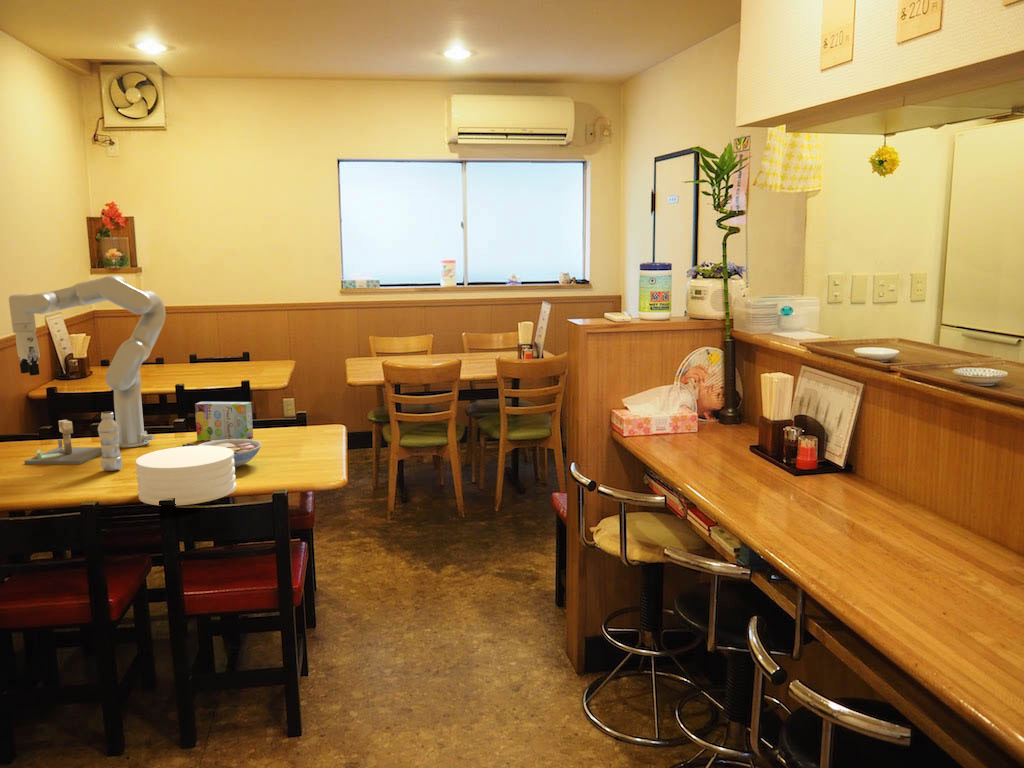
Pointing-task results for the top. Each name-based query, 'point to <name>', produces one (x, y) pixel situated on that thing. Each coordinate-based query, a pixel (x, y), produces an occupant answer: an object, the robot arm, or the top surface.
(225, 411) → the snack box
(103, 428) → the plastic bottle
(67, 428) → the dial handle
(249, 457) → the ramen bowl
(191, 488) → the plate stack
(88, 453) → the dial board
